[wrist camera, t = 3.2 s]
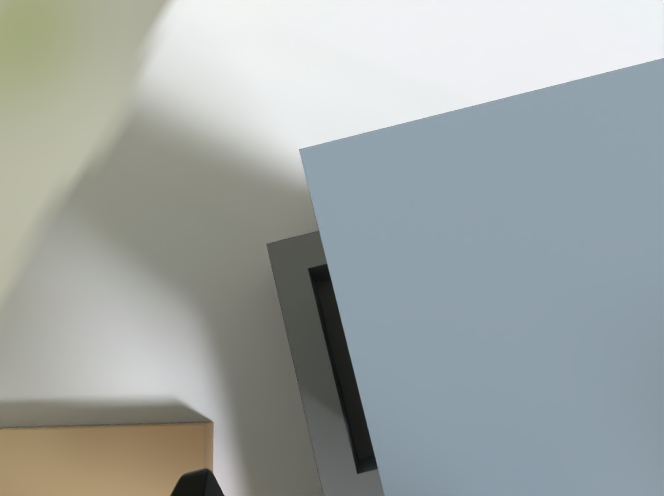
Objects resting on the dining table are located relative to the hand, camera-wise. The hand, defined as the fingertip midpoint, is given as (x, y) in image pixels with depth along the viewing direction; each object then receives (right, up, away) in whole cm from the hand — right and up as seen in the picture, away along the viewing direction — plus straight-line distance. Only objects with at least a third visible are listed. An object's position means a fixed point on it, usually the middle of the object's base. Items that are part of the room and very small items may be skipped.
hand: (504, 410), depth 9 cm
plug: (0, 0, +8) cm, 8 cm away
